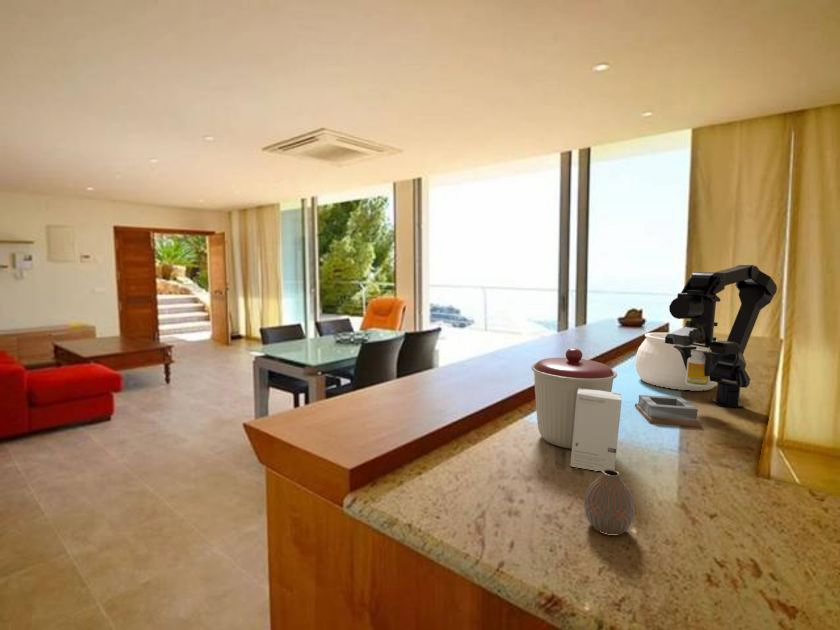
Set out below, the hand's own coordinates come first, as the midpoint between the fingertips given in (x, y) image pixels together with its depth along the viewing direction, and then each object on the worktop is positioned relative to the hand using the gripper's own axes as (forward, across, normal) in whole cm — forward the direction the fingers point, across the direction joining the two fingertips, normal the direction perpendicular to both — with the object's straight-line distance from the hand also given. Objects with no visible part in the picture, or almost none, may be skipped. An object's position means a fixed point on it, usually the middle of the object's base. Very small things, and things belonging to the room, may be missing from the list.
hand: (697, 373), depth 130 cm
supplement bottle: (+3, 0, 0) cm, 3 cm away
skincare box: (+11, +22, -53) cm, 59 cm away
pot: (+11, -26, +22) cm, 35 cm away
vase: (+11, +41, -66) cm, 79 cm away
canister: (+11, +10, -49) cm, 51 cm away
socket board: (+10, +2, -12) cm, 16 cm away
